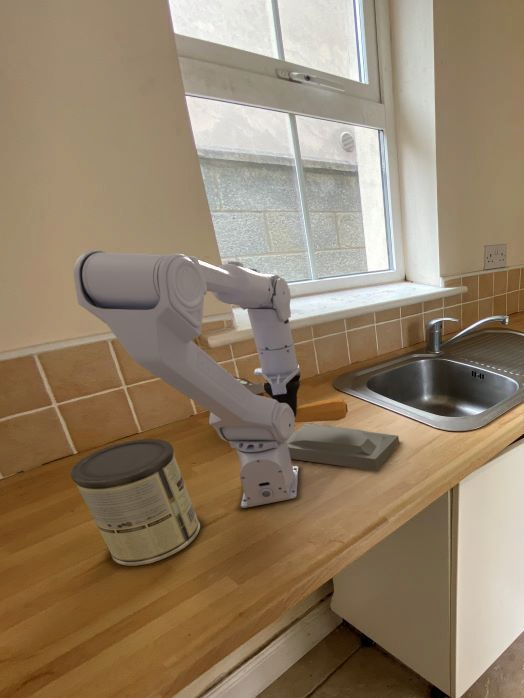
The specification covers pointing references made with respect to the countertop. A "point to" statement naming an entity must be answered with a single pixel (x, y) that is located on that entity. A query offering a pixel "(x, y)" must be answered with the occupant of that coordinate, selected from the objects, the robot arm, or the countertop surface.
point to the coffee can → (137, 500)
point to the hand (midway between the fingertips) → (290, 413)
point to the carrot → (322, 411)
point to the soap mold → (341, 446)
